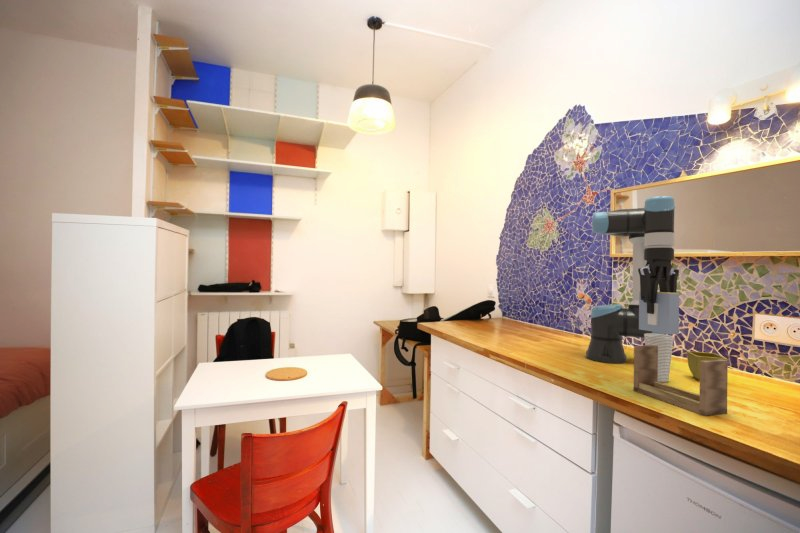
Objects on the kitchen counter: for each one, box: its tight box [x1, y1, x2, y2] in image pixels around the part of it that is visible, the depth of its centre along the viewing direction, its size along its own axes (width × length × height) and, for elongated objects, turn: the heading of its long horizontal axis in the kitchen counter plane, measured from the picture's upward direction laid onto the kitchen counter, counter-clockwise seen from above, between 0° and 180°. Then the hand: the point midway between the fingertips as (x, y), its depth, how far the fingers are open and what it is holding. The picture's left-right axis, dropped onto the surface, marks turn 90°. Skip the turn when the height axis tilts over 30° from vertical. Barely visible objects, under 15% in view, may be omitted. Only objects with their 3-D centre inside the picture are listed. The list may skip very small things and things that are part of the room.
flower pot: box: [686, 350, 728, 381], centre depth 130 cm, size 9×9×9 cm
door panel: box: [639, 291, 680, 335], centre depth 112 cm, size 4×10×12 cm, turn 15°
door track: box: [633, 344, 729, 417], centre depth 108 cm, size 8×21×14 cm, turn 17°
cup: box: [643, 333, 674, 383], centre depth 129 cm, size 8×8×16 cm
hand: (658, 324), depth 112 cm, fingers closed on door panel, 3 cm apart
